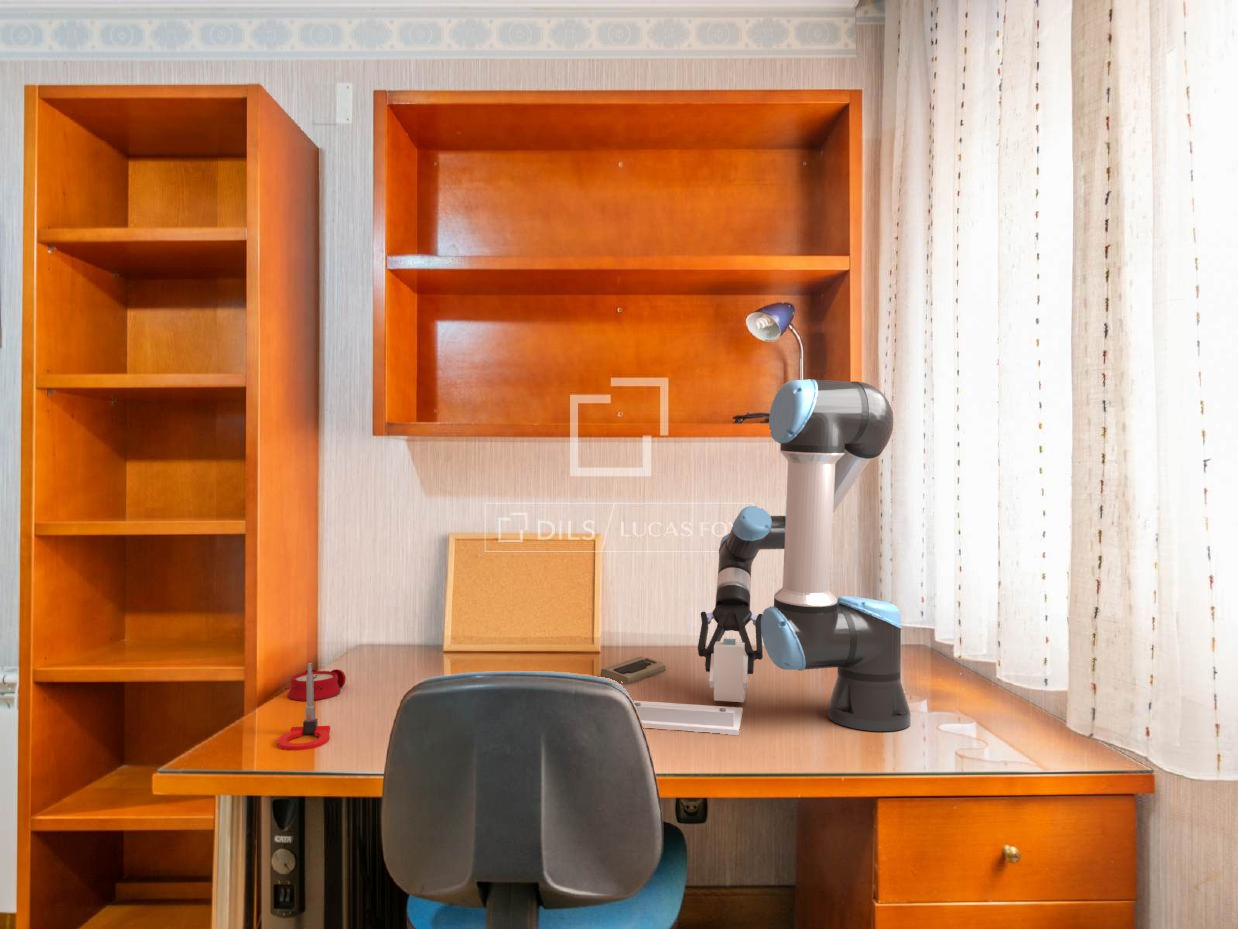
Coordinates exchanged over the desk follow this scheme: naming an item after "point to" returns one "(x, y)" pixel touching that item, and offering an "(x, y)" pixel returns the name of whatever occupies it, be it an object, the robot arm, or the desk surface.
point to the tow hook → (306, 724)
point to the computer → (633, 670)
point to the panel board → (697, 727)
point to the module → (729, 670)
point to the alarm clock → (317, 684)
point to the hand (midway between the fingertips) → (728, 685)
